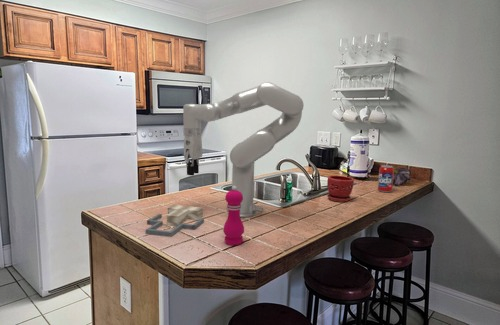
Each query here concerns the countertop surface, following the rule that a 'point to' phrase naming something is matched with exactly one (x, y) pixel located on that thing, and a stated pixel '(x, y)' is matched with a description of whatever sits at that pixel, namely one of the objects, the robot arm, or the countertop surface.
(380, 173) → the soda can
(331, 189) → the plant pot
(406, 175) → the decorative flower
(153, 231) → the dock
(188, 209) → the t block
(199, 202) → the countertop surface
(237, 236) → the pepper mill
